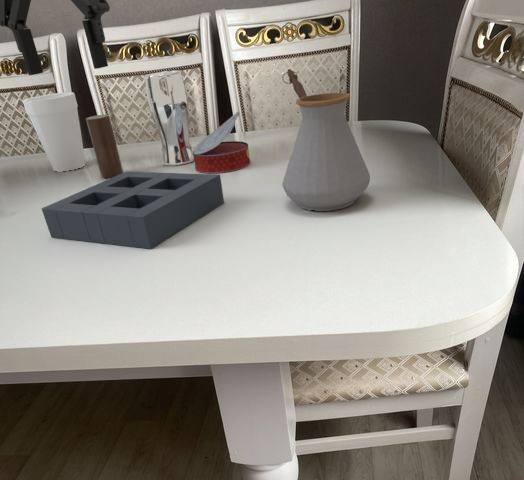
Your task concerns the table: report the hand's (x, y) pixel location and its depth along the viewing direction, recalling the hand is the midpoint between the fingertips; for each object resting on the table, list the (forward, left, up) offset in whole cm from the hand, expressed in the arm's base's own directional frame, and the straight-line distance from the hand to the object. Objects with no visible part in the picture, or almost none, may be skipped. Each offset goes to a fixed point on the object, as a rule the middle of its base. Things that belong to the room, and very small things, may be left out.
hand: (67, 71), depth 87 cm
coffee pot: (+44, -3, -18) cm, 48 cm away
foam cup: (-13, +5, -18) cm, 22 cm away
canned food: (+21, +9, -18) cm, 29 cm away
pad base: (+24, -18, -17) cm, 35 cm away
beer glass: (+10, +11, -18) cm, 23 cm away
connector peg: (+2, +1, -17) cm, 18 cm away
